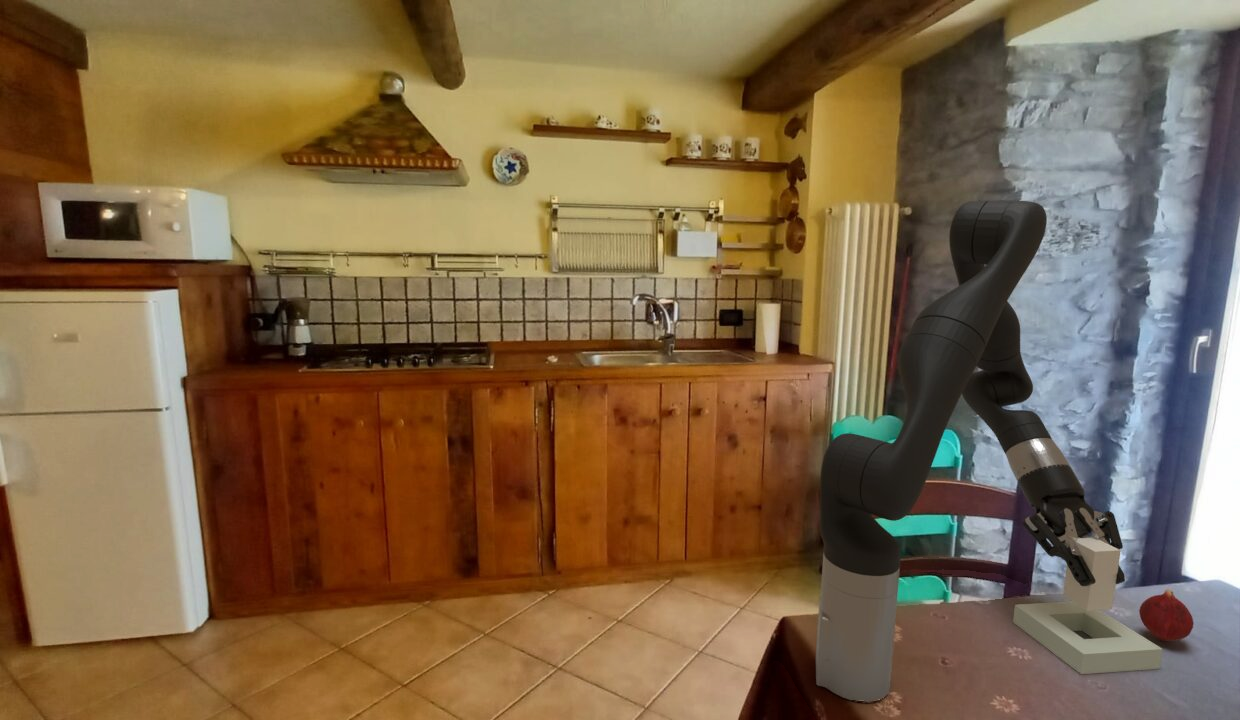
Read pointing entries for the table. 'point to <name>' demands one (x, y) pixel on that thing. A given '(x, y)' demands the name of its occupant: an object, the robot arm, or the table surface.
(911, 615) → the table surface
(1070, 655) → the socket
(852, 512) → the robot arm
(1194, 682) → the table surface
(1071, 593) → the plug
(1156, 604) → the onion
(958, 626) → the table surface
